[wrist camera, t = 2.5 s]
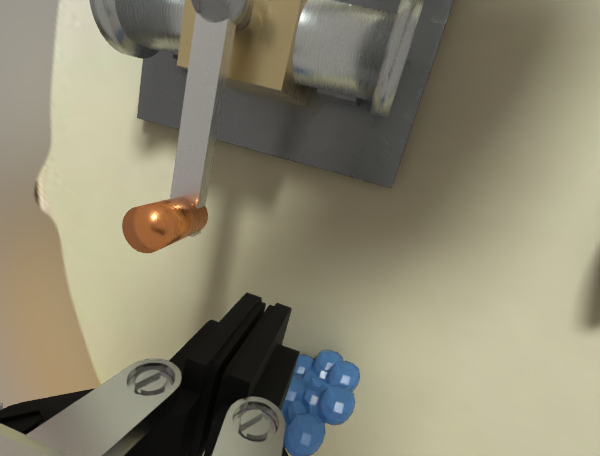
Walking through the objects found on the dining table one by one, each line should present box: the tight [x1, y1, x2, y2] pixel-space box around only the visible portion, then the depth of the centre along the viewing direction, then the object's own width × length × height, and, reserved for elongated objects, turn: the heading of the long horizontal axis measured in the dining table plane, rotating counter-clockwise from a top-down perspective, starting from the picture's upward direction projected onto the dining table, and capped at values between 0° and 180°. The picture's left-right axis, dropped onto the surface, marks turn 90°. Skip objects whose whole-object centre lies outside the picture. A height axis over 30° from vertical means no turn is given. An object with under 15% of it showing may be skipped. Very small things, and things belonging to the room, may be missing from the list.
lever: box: [122, 0, 253, 253], centre depth 17 cm, size 15×3×5 cm, turn 166°
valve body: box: [90, 0, 453, 188], centre depth 23 cm, size 16×24×10 cm, turn 76°
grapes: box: [281, 351, 360, 456], centre depth 28 cm, size 12×7×12 cm, turn 111°
